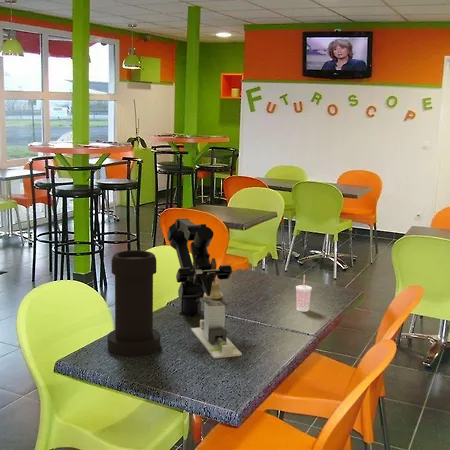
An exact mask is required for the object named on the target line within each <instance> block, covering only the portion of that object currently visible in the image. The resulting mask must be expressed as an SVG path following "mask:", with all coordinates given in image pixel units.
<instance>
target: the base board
mask: <svg viewBox="0 0 450 450" xmlns="http://www.w3.org/2000/svg"><path fill="white" fill-rule="evenodd" d="M203 323H204V319H200V320H199V327H191V329H190V331H192V332H193V334H194V335H195V337H197V339H198V340H199V341H200V342H201V344H202V346H203V347H204V348H205V349H206V350H207V352H208V353H209V354H210V355H211V356H212V358H213V359H221V358H231V357H233V358H234V357H240V356H243V355H242V352H241V351H240V350H239V349H238V348H237V347H236V346H235V344H233V342H232V341H231V340H230V339H229V338H228V337H226V343H227V345H222V347H221V346H220V345H219V343H218V342H217V341H216V340H215V344H211V343H210V342H209V341H208V340H207V339H206V338H205V336H204V326H203Z"/></svg>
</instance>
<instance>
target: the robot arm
mask: <svg viewBox="0 0 450 450" xmlns="http://www.w3.org/2000/svg"><path fill="white" fill-rule="evenodd" d="M166 238H167V241H168V242H169V246H170V247H171V248H173V249H174V250H175V251H176V255H177V259H178V263H179V266H180V267H179V268H178V270H177V272H176V276H175V277H176V282H177V283H180V285H179V288H178V292H177V293H178V297H179V299H180V301H181V303H180V304H181V306H180V307H181V308H180V310H181V311H179V312H178V313H179V315H183V316H189V317H195V316H197V315H199V314H201V313H203V311H202V302H201V299H203V298H204V297H203V296H204V293H206V295H207V296H210V293H211V287H212V282H213V281H214V280H215V281H216V278H217V279H218V280H220V281H221V280H229V279H230V277H231V275H232V274H233V268H232V266H231V265H230V264H224V265H223V264H222V265H220V264H219V266H218V268H216V270H212V264H211V260H210V259H211V258H210V257H211V255H210V253H209V250H208V248H209V247H210V245H211V243H212V240H213V238H214V230H212V229H211V228H210V227H209V226H207V224H206V223H202V224H201V223H200V224H195V223H194V222H192V221H191V220H190V219H189V218H177V219H175V221H174V223H173V224H171V225H170V226H168V230H167V234H166ZM189 242H191V243H190V245H189V247H190V251H189V247H188V244H189ZM190 253H191V254H190Z"/></svg>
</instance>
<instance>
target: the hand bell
mask: <svg viewBox="0 0 450 450" xmlns="http://www.w3.org/2000/svg"><path fill="white" fill-rule="evenodd" d="M210 263H211V264H212V270H217V267H218V265H217V262H216V258H215V257H212V258H211V260H210ZM223 297H224V294H223V293H222V292H221V290H220V285H219V283H218V282H217V281H216V279H215V280H214V281H213V282H212V287H211V293H210V296H207V295H206V293H205V292H204V296H203V298H206V299H210V300H218V299H222V298H223Z"/></svg>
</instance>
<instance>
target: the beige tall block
mask: <svg viewBox="0 0 450 450" xmlns="http://www.w3.org/2000/svg"><path fill="white" fill-rule="evenodd" d="M225 315H226V305H225V304H224V303H223V302H222V301H221V300H214V301H213V300H212V301H204V313H203V318H204V319H203V320H204V336H205V338H206V339H207V340H208V341H209V334H210V330H218V329H225V324H226V323H225V321H226V320H225ZM220 337H221V336H220Z"/></svg>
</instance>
